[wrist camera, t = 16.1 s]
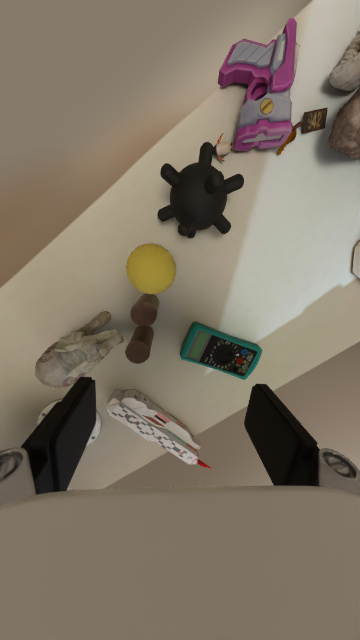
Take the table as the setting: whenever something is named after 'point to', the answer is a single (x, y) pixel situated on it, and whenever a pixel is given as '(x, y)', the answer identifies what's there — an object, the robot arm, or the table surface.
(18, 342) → the table surface
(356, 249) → the cup
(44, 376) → the figurine
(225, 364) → the digital multimeter
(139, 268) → the yellow light bulb
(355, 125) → the rock
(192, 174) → the toy ball
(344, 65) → the fossil
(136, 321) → the peg mid
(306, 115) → the key tag
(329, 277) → the table surface
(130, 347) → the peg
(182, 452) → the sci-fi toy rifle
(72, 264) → the table surface
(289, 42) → the toy gun
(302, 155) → the table surface
